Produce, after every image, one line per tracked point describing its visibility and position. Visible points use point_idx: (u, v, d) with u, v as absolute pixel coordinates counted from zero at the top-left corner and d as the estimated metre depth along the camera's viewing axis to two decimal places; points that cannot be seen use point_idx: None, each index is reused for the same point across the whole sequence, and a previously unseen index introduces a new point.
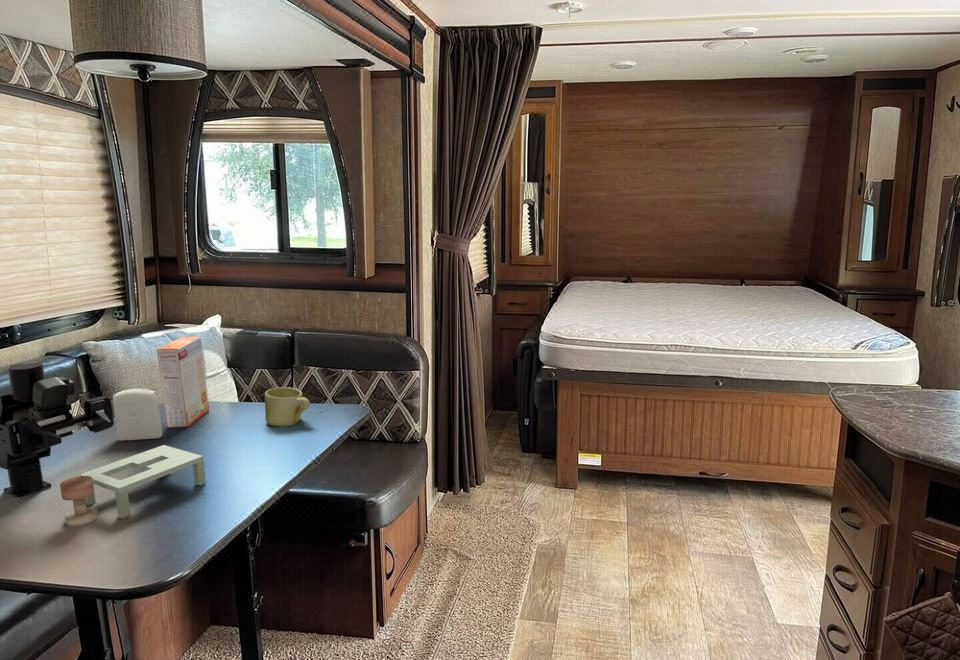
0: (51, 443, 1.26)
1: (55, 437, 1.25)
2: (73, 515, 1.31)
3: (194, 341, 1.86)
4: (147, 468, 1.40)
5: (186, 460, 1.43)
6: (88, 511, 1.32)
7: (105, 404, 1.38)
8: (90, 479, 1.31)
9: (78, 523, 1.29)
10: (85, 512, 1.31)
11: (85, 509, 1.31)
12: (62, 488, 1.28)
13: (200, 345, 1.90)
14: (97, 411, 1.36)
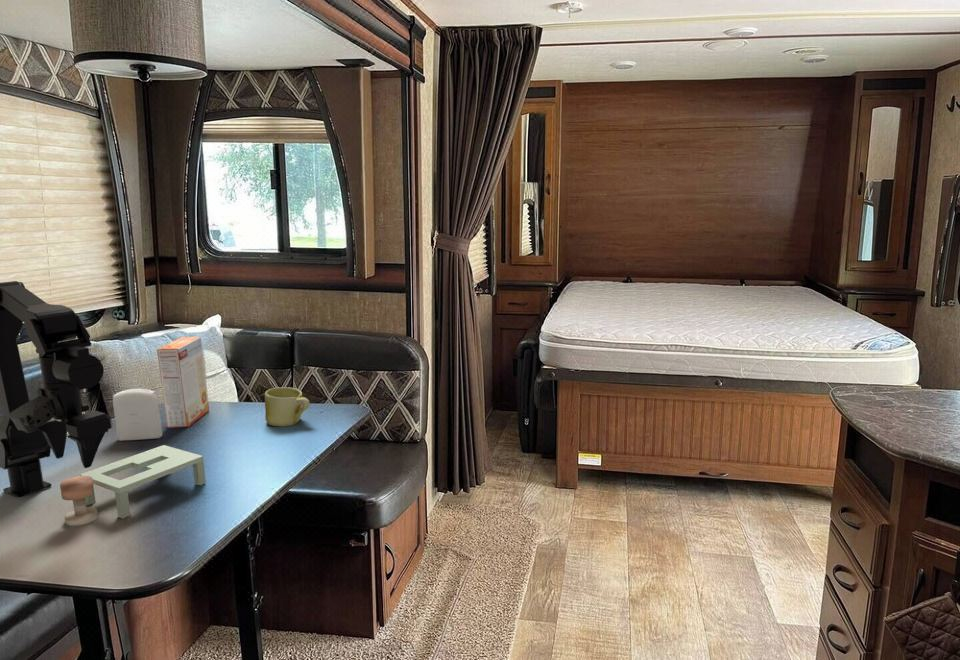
0: None
1: (55, 454, 1.31)
2: (73, 515, 1.31)
3: (194, 341, 1.86)
4: (147, 468, 1.40)
5: (186, 460, 1.43)
6: (88, 511, 1.32)
7: None
8: (90, 479, 1.31)
9: (78, 523, 1.29)
10: (85, 512, 1.31)
11: (85, 509, 1.31)
12: (62, 488, 1.28)
13: (200, 345, 1.90)
14: (77, 443, 1.24)
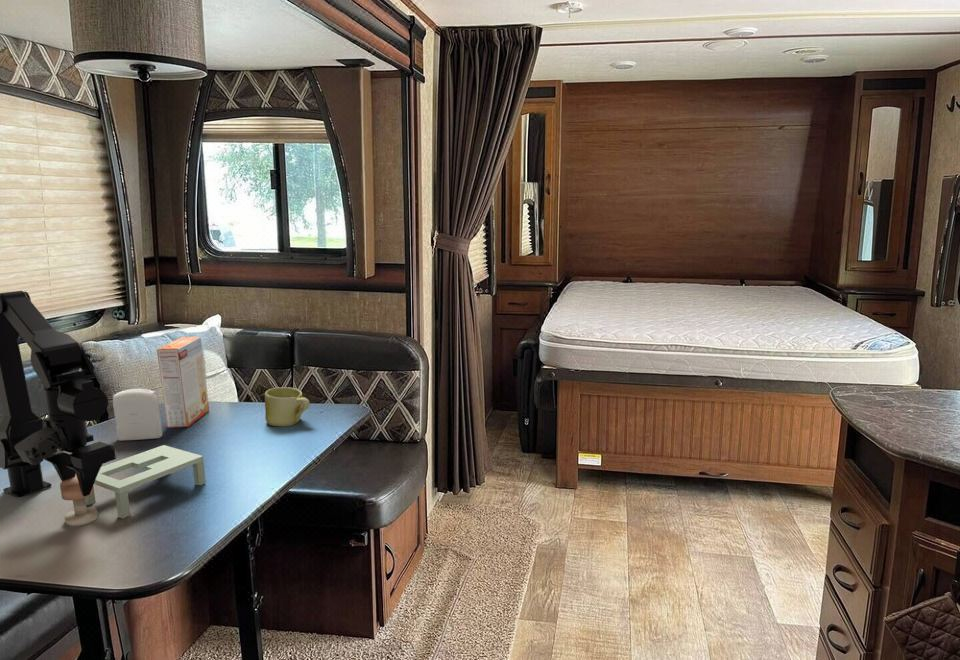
0: None
1: None
2: (73, 515, 1.31)
3: (194, 341, 1.86)
4: (147, 468, 1.40)
5: (186, 460, 1.43)
6: (88, 511, 1.32)
7: None
8: None
9: (78, 523, 1.29)
10: (85, 512, 1.31)
11: (85, 509, 1.31)
12: (62, 488, 1.28)
13: (200, 345, 1.90)
14: (76, 472, 1.26)
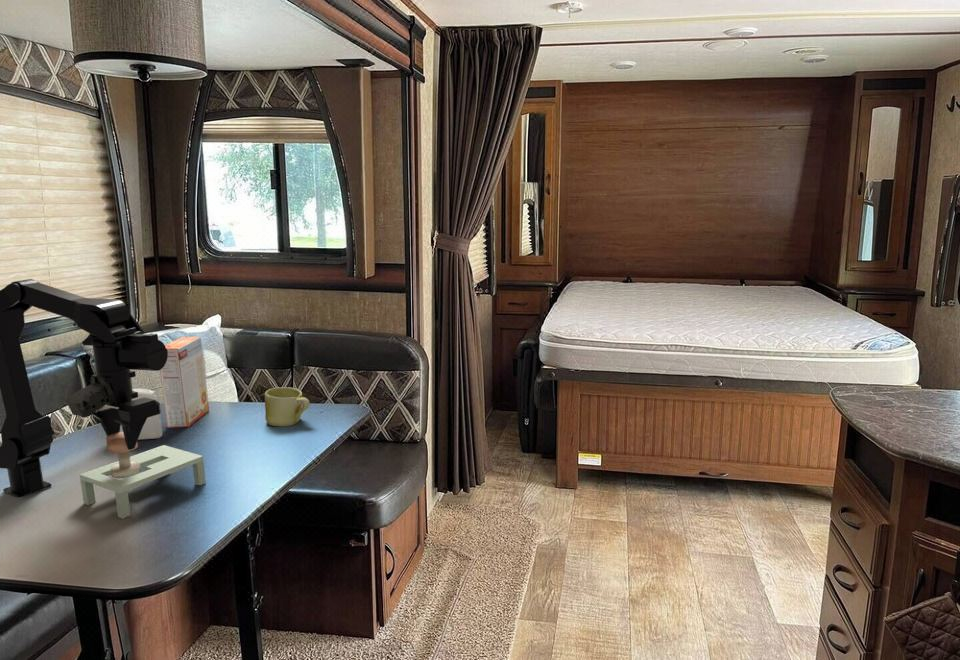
0: None
1: None
2: (118, 468, 1.37)
3: (194, 341, 1.86)
4: (147, 468, 1.40)
5: (186, 460, 1.43)
6: (132, 465, 1.39)
7: None
8: None
9: (123, 475, 1.36)
10: (129, 465, 1.38)
11: (129, 462, 1.38)
12: (108, 441, 1.35)
13: (200, 345, 1.90)
14: (122, 426, 1.33)
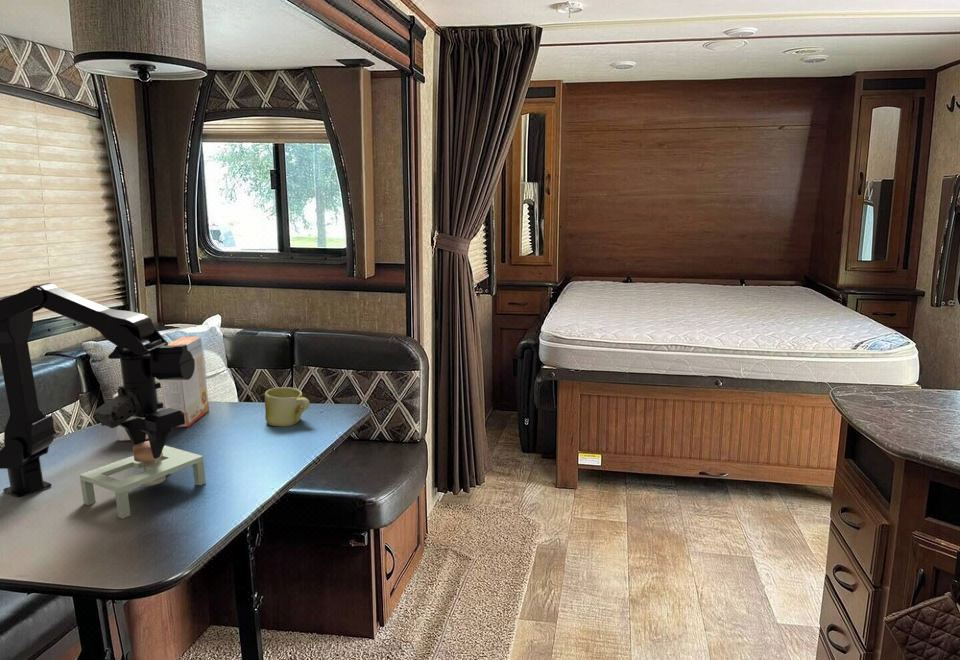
0: None
1: None
2: None
3: (194, 341, 1.86)
4: (147, 468, 1.40)
5: (186, 460, 1.43)
6: None
7: None
8: None
9: (149, 483, 1.40)
10: None
11: None
12: (135, 451, 1.39)
13: (200, 345, 1.90)
14: (148, 435, 1.38)
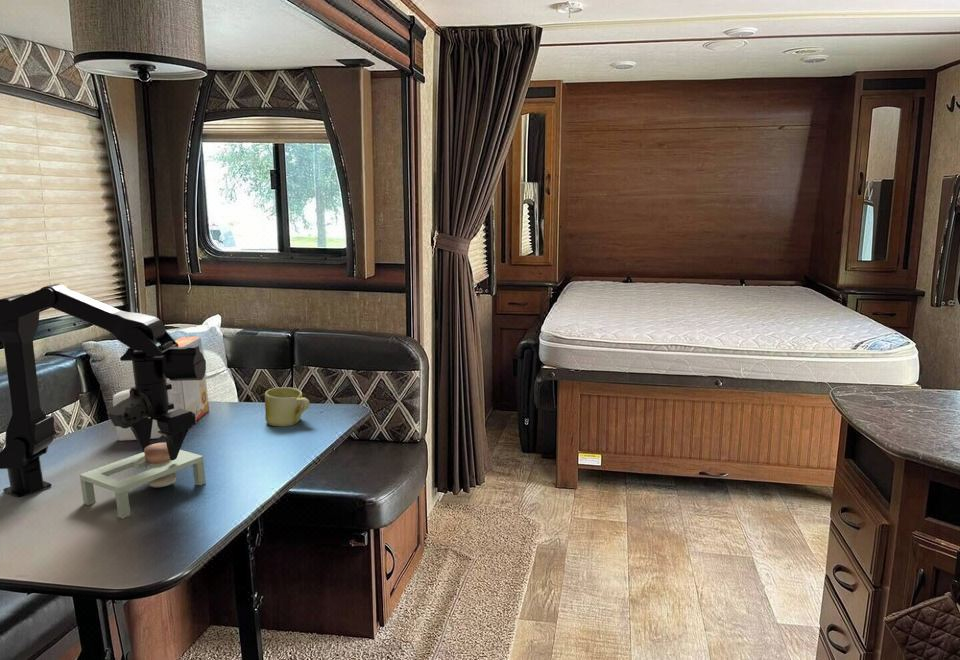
0: None
1: (141, 448, 1.46)
2: None
3: (194, 341, 1.86)
4: (147, 468, 1.40)
5: (186, 460, 1.43)
6: (168, 474, 1.46)
7: None
8: None
9: (160, 485, 1.43)
10: (165, 475, 1.45)
11: None
12: (146, 452, 1.42)
13: (200, 345, 1.90)
14: (165, 437, 1.39)
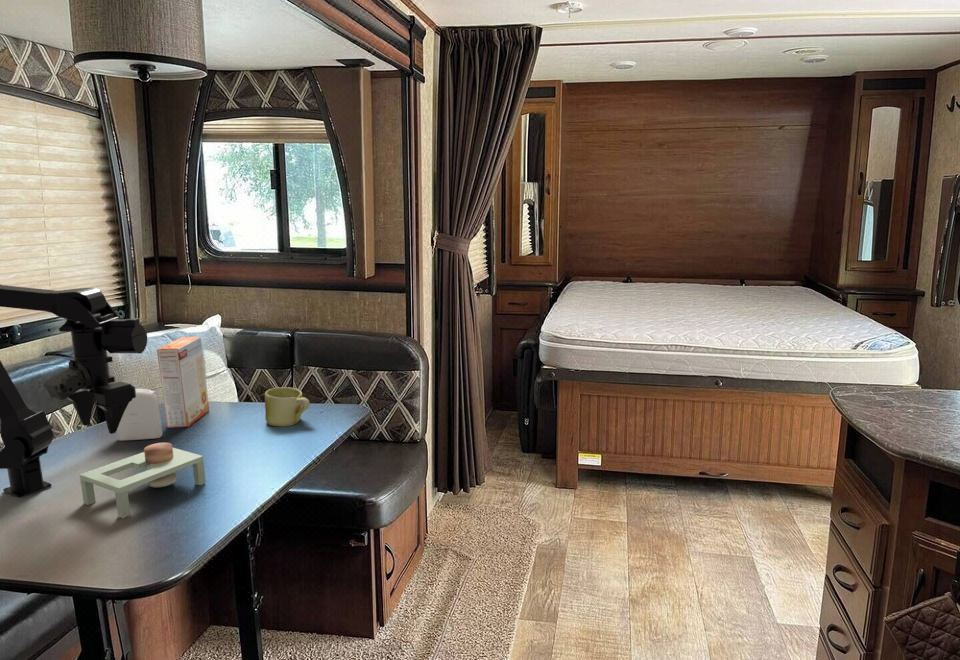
0: None
1: (82, 422, 1.44)
2: None
3: (194, 341, 1.86)
4: (147, 468, 1.40)
5: (186, 460, 1.43)
6: (168, 474, 1.46)
7: None
8: (170, 445, 1.44)
9: (160, 485, 1.43)
10: (165, 475, 1.45)
11: None
12: (146, 452, 1.42)
13: (200, 345, 1.90)
14: (104, 410, 1.37)
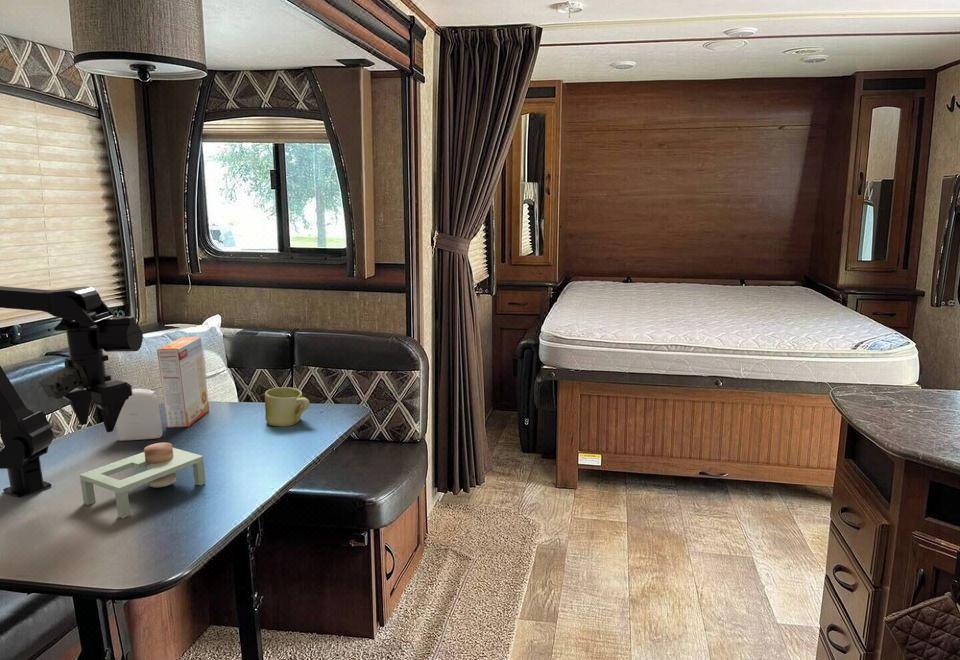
0: None
1: None
2: None
3: (194, 341, 1.86)
4: (147, 468, 1.40)
5: (186, 460, 1.43)
6: (168, 474, 1.46)
7: None
8: (170, 445, 1.44)
9: (160, 485, 1.43)
10: (165, 475, 1.45)
11: None
12: (146, 452, 1.42)
13: (200, 345, 1.90)
14: (100, 409, 1.37)
